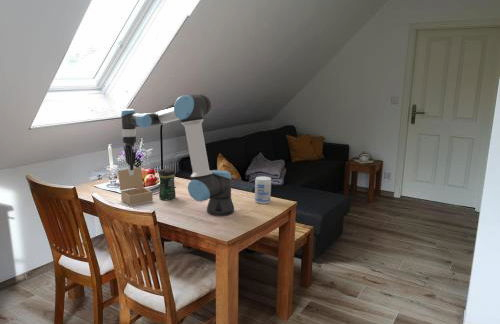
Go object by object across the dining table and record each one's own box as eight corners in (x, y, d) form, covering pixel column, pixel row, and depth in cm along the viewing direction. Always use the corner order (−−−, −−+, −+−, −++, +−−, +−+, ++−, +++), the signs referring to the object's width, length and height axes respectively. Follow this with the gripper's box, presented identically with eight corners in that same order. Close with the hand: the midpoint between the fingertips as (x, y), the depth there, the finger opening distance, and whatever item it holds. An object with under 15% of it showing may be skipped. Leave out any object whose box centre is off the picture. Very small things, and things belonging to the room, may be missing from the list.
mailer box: (152, 201, 231) (152, 191, 229) (130, 206, 222) (129, 196, 220) (143, 196, 240) (143, 187, 238) (121, 200, 231) (121, 191, 229)
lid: (141, 167, 237) (140, 167, 238) (118, 170, 228) (117, 170, 228) (143, 186, 239) (142, 186, 239) (120, 190, 229) (120, 190, 230)
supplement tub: (257, 204, 228) (257, 180, 224) (252, 200, 236) (252, 176, 233) (272, 203, 230) (273, 179, 227) (267, 198, 239) (268, 175, 236)
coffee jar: (166, 201, 231) (165, 171, 227) (157, 198, 236) (156, 169, 232) (178, 197, 239) (177, 168, 235) (169, 195, 243) (168, 166, 239)
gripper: (140, 136, 225) (142, 176, 230) (130, 134, 234) (132, 171, 239) (127, 137, 220) (129, 178, 225) (118, 135, 229) (120, 173, 234)
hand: (131, 174), depth 232 cm, fingers closed
